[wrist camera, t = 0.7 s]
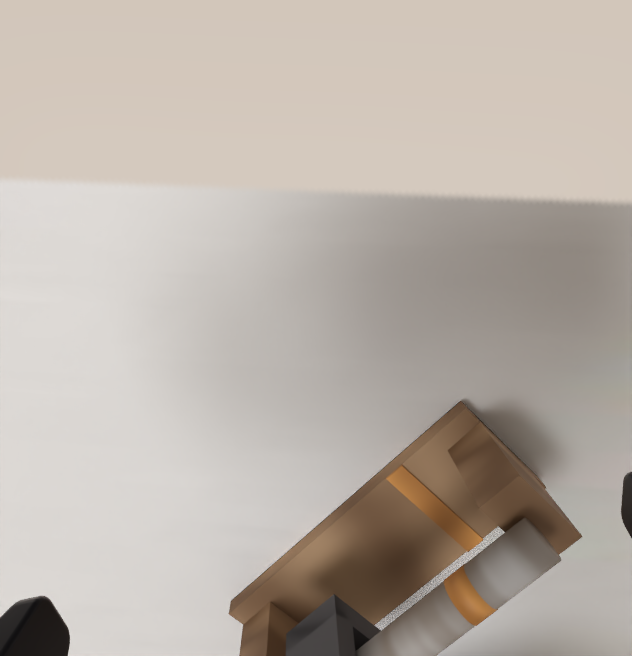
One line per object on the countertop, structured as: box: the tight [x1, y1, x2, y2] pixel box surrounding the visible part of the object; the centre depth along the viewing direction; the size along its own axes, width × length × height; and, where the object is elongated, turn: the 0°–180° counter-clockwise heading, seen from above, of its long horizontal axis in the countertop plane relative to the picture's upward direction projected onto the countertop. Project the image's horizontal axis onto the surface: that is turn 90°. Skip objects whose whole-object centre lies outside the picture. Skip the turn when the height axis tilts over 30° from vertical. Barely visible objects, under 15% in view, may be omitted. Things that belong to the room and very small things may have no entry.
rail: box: [229, 401, 582, 656], centre depth 22 cm, size 16×6×7 cm, turn 135°
